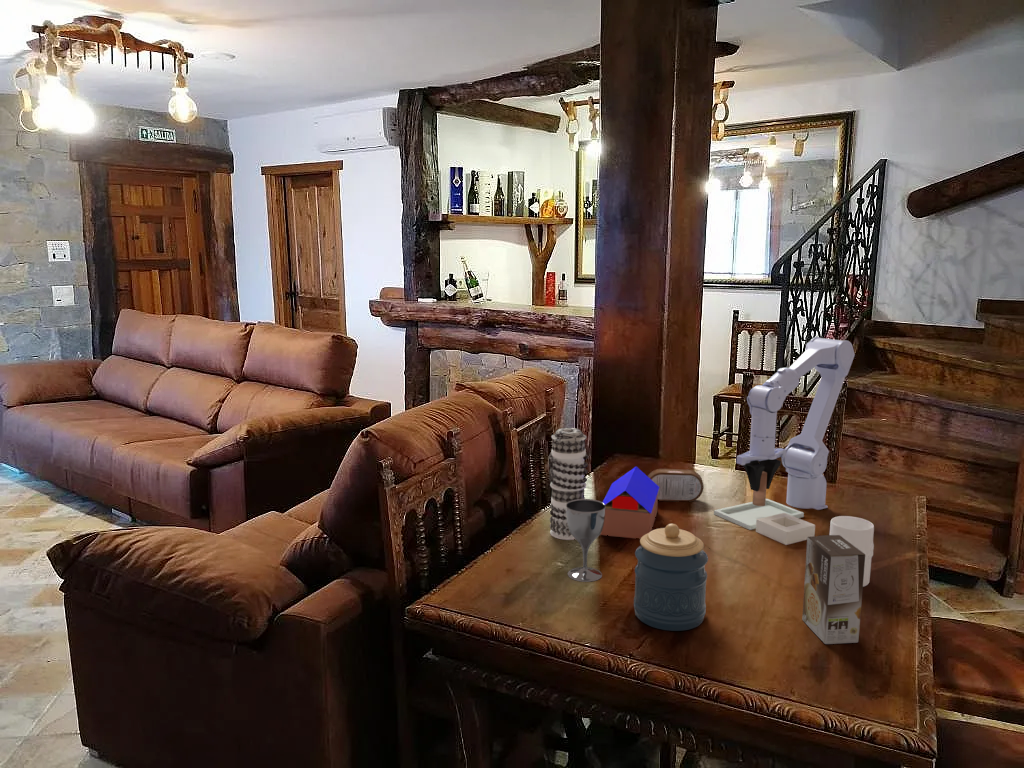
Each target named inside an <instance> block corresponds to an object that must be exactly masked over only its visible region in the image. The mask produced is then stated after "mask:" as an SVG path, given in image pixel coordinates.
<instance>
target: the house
mask: <svg viewBox="0 0 1024 768" xmlns="http://www.w3.org/2000/svg"><path fill="white" fill-rule="evenodd" d="M658 491H659V486H658V485H657V484H655V483H654V482H653V481H652V480H651V479H650V478H649V477H648V475H646V473H645V472H643V470H641V469H640V468H639V467H638V466H634V467H633V468H632V469H631V470H629V471H627V472H626V473H624V475H622V476H620V477H619V478H617V479H616V480H615V481H613V482H612V483H611V485H610V487H609V489H608V491H607V492H606V495H605V497H604V499H603V500H602V502H603V503H604V504H605V521H604V526H603V529H602V532H601V534H600V535H599V536H607V535H608V536H609V537H618V538H619V537H620V538H628V539H636V538H639V539H638V540H640V539H641V537H642V536H644V535H645V534H647V533H649V532H651V531H652V530H653V528H652V527H654V523H655V521H656V518H655V517H657V513H658V505H659V503H658V502H659V501H658ZM608 536H607V537H608Z"/></svg>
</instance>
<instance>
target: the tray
mask: <svg viewBox="0 0 1024 768" xmlns="http://www.w3.org/2000/svg"><path fill="white" fill-rule="evenodd" d="M781 513H786V514H789V515H791V516H794V517H796V518H799V519H801V518H804V517H805V515H804V514H805V513H804V512H803V511H800V510H797V509H795V508H794V507H791V506H789V505H785V504H782V503H780V502H776V501H774V500H772V499H769V498H766V502H765V506H756V505H753V501H750V502H746V503H741V504H736V505H731V506H727V507H726V506H725V507H723V508H718V509H714V510H713V515H715V516H717V517H719V518H721V519H724V520H726V521H728V522H730V523H732V524H734V525H737V526H740V527H741V528H744V529H746V530H749V531H751V530H756V520H757V519H760V518H764V517H768V516H773V515H777V514H781Z"/></svg>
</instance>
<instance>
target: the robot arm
mask: <svg viewBox="0 0 1024 768" xmlns="http://www.w3.org/2000/svg"><path fill="white" fill-rule="evenodd" d="M855 356H856V354H855V351H854V346H853V344H852V342H851V341H849V340H847V339H846V340H844V339H843V340H842V339H841V340H839V339H833V338H824V337H819V336H814V337H813V338H811V339H810V340H809V341H808V342H807V343H805V351H804V352H803V353H802V354H801V355H800V356H799V357H798V358H797V359H796V360H795V361H794V362H793V363H792V364H791V365H790V366H789V367H780V368H778V369H777V372H775V373H774V374H773V375H772V376H770V377H769V379H766V380H765V382H764V383H763V384H762V385H760V384H759V385H758V384H756V385H755V386H753V387H752V388H751V389H750V390H749V392H748V396H746V401H747V405H748V407H749V413H750V415H751V424H750V441H749V450H748V451H746V452H744V453H741V454H739V455H736V464H738V465H741V466H742V467H744V470H745V473H746V476H747V479H748V482H749V483H748V484H749V488H750V491H751V490H752V491H753V490H754V491H759V488H760V480H761V475H762V472H763V471H764V472H767V485H766V490H769V489H770V487H771V484H772V482H773V479H774V477H775V474H776V472H777V470H778V469H779V468H780V467H781V465H782V466H783V467H784V468H785V472H787V473H788V474H787V486H786V501H785V503H786V504H787V506H789V507H792V508H798V509H805V510H806V509H814V510H817V511H820V510H823V509H824V510H825V509H828V505H827V504H826V499H827V495H826V494H827V486H828V485H827V480H826V477H825V475H823V474H824V472H825V471H826V469H827V464H828V456H829V453H830V450H829V448H827V446H826V445H825V443H824V441H823V439H824V437H825V433H827V432H826V431H827V430H828V425H829V423H830V420H831V418H832V414H833V412H834V409H835V406H836V403H837V400H838V398H839V395H840V392H841V390H842V387H843V385H844V382H845V380H846V379H845V378H846V377H847V376H848V374H849V372H850V369H851V366H852V364H853V360H854V358H855ZM813 369H815V370H816V372H817V373H819V375H820V377H821V378H820V381H819V382H818V383H819V384H818V385H817V386H818V387H817V389H816V392H815V394H814V397H813V399H812V403H811V405H810V408H809V410H808V414H807V417H806V419H805V422H804V424H803V427H802V429H801V433H800V434H798V435H796V436H794V437H792V438H790V439H789V441H788V444H787V446H786V447H785V448H781V447H778V448H775V447H776V446H775V445H776V432H777V417H778V414H777V413H778V411H779V410H781V409H782V407H783V404H784V401H785V400H786V398H787V396H788V395H789V394H790V393H792V392H793V391H794V390H795V389H796V388H797V387H798V386H799V384H800V379H801V378H802V377H803V376H805V375H806V374H807V373H809V372H810V371H811V370H813ZM778 458H781V460H779V459H778Z"/></svg>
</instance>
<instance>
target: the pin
mask: <svg viewBox="0 0 1024 768" xmlns="http://www.w3.org/2000/svg"><path fill="white" fill-rule="evenodd" d="M766 485H767V472H764V471H763V472H762V475H761V480H760V488H759V491H754V490H752V502H753V505H756V506H765V502H766V499H767V497H766V496H767V489H766Z"/></svg>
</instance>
